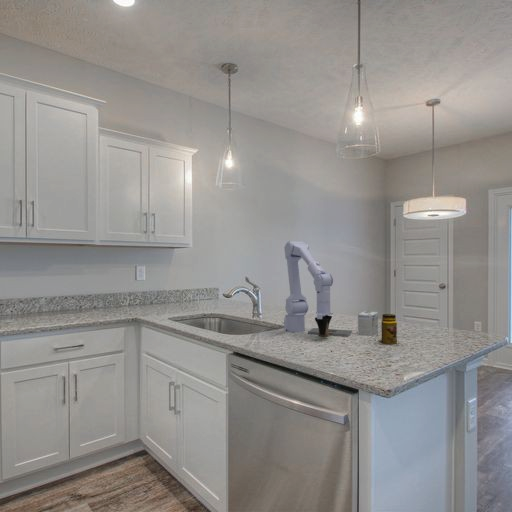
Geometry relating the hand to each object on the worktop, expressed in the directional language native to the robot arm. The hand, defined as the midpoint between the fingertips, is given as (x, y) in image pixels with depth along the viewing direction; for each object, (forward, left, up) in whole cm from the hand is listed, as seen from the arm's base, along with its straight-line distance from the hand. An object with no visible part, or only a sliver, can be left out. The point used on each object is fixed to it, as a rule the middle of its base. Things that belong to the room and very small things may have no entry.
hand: (323, 333), depth 160 cm
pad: (0, 0, -4) cm, 4 cm away
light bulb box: (+16, +19, -4) cm, 25 cm away
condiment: (+25, +8, -4) cm, 27 cm away
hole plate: (0, +12, -4) cm, 13 cm away
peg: (0, 0, -1) cm, 1 cm away
